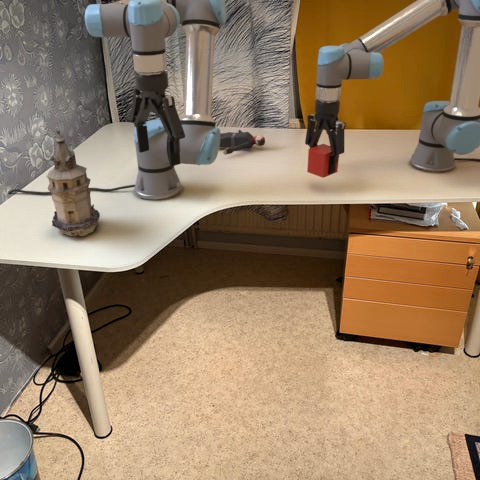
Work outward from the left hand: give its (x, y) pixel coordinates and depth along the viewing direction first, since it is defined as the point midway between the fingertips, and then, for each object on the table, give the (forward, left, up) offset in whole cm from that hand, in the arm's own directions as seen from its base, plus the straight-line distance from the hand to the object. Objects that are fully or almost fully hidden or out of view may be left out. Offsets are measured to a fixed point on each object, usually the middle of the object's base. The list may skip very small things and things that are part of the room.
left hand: (159, 158), depth 135 cm
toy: (+22, +75, -25) cm, 82 cm away
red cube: (+50, +32, -19) cm, 62 cm away
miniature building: (-26, +12, -25) cm, 38 cm away
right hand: (+50, +32, -18) cm, 62 cm away
